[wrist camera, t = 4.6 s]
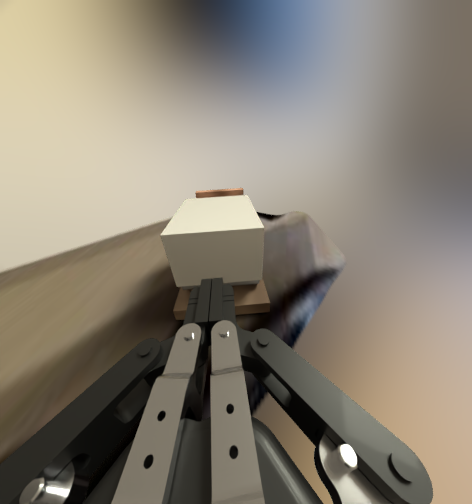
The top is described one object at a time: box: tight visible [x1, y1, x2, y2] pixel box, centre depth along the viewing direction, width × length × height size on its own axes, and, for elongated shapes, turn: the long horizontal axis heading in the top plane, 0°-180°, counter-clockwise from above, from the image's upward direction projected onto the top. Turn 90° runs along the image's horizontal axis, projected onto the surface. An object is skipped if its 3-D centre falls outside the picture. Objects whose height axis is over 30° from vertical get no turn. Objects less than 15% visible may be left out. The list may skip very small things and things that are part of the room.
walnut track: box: [173, 188, 270, 320], centre depth 29 cm, size 10×28×8 cm, turn 4°
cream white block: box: [160, 195, 264, 290], centre depth 22 cm, size 9×12×8 cm
